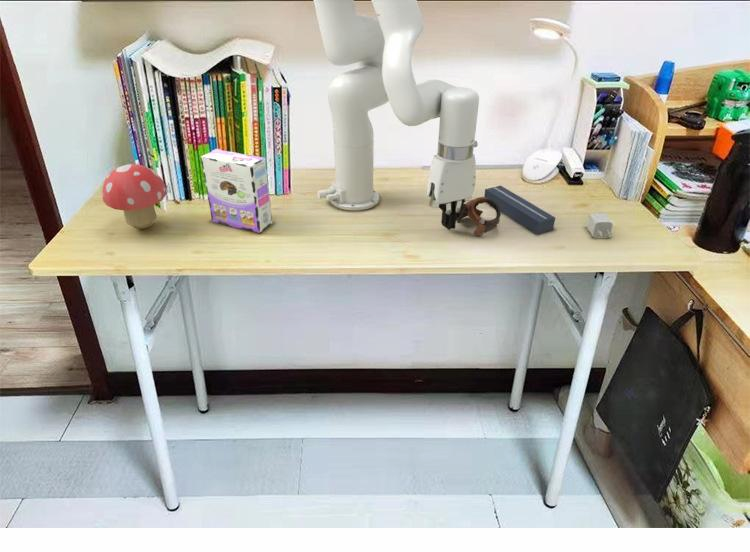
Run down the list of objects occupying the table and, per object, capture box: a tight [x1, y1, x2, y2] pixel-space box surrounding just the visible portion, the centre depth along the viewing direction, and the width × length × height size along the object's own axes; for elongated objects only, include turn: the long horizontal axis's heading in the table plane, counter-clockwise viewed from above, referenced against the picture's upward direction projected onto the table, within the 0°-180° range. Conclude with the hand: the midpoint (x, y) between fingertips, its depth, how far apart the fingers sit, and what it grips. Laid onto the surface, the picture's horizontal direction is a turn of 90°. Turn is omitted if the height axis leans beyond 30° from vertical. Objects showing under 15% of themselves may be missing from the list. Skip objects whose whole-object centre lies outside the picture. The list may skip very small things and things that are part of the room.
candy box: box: [200, 148, 273, 234], centre depth 127 cm, size 14×6×16 cm, turn 65°
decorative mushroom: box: [101, 163, 168, 230], centre depth 125 cm, size 13×13×15 cm
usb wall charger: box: [586, 212, 614, 239], centre depth 127 cm, size 4×7×4 cm, turn 179°
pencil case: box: [483, 185, 556, 235], centre depth 136 cm, size 5×20×3 cm, turn 28°
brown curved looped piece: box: [456, 196, 502, 237], centre depth 129 cm, size 12×10×8 cm
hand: (448, 226), depth 127 cm, fingers closed
